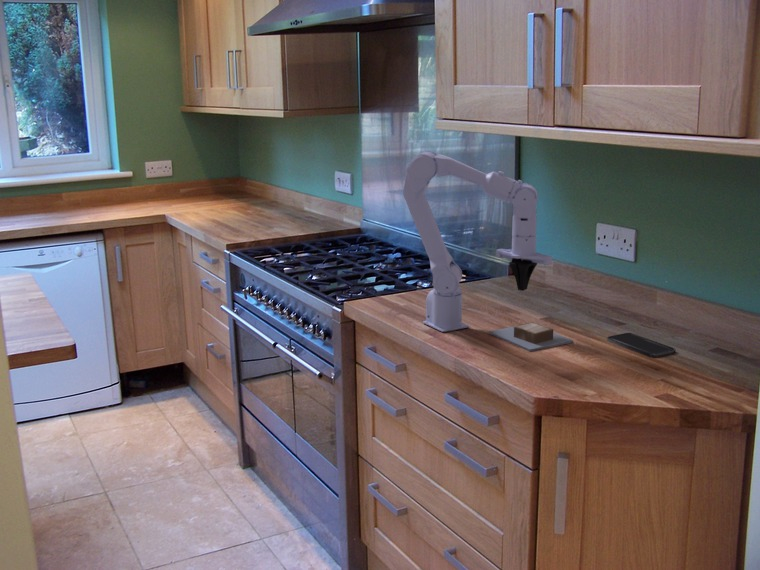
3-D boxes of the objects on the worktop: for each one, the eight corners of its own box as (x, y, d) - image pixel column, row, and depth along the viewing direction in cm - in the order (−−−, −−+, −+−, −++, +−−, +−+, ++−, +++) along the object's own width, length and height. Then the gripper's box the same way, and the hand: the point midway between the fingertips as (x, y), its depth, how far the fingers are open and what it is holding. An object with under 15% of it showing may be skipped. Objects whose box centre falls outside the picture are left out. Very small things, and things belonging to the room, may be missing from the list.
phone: (652, 355, 183) (605, 336, 196) (652, 359, 183) (605, 341, 196) (678, 349, 187) (630, 332, 200) (677, 354, 187) (629, 336, 200)
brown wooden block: (514, 326, 197) (535, 333, 192) (532, 322, 200) (553, 329, 195) (513, 336, 198) (534, 344, 192) (531, 332, 201) (553, 339, 195)
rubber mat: (488, 333, 202) (488, 331, 202) (530, 325, 208) (530, 323, 208) (529, 351, 189) (529, 349, 189) (573, 342, 195) (573, 340, 195)
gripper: (489, 233, 200) (488, 288, 204) (541, 241, 191) (539, 297, 194) (505, 229, 205) (504, 282, 209) (557, 236, 196) (554, 291, 199)
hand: (522, 289), depth 202 cm, fingers closed
